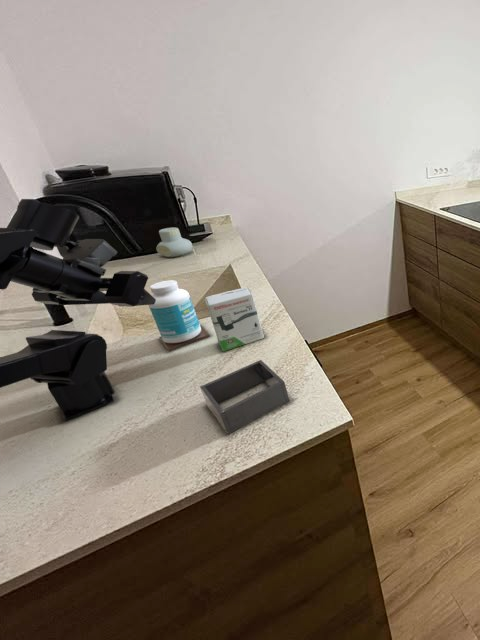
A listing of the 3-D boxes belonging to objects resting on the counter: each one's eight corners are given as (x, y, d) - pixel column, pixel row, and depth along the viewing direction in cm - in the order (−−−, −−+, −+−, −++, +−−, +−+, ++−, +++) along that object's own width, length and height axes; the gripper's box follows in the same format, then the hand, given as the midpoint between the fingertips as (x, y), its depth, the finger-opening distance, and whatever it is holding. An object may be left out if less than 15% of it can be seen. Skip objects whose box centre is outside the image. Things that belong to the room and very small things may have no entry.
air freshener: (198, 252, 145) (190, 227, 141) (177, 259, 138) (168, 233, 134) (177, 250, 148) (168, 225, 144) (155, 257, 141) (145, 231, 137)
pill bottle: (198, 340, 86) (178, 287, 81) (159, 348, 84) (135, 294, 78) (205, 325, 93) (187, 275, 87) (169, 332, 90) (148, 280, 85)
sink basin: (227, 434, 61) (219, 413, 60) (207, 406, 68) (199, 386, 66) (289, 401, 68) (284, 381, 67) (266, 378, 75) (260, 359, 73)
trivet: (169, 351, 84) (168, 349, 83) (160, 339, 88) (159, 336, 88) (210, 336, 89) (209, 334, 89) (199, 325, 94) (198, 323, 94)
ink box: (222, 352, 83) (206, 305, 78) (218, 343, 86) (202, 297, 82) (265, 338, 88) (252, 292, 83) (260, 329, 92) (247, 285, 87)
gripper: (117, 230, 64) (189, 265, 79) (19, 229, 65) (107, 264, 80) (90, 291, 60) (171, 317, 75) (-14, 288, 61) (85, 314, 76)
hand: (133, 301), depth 76 cm, fingers open, 9 cm apart
